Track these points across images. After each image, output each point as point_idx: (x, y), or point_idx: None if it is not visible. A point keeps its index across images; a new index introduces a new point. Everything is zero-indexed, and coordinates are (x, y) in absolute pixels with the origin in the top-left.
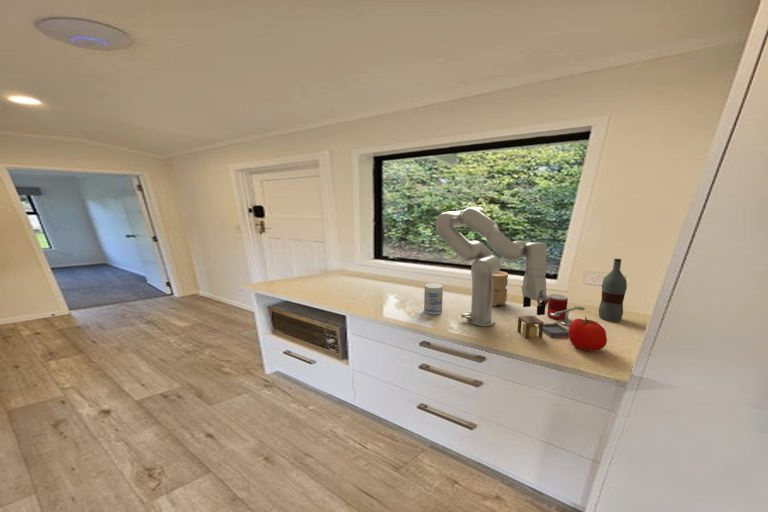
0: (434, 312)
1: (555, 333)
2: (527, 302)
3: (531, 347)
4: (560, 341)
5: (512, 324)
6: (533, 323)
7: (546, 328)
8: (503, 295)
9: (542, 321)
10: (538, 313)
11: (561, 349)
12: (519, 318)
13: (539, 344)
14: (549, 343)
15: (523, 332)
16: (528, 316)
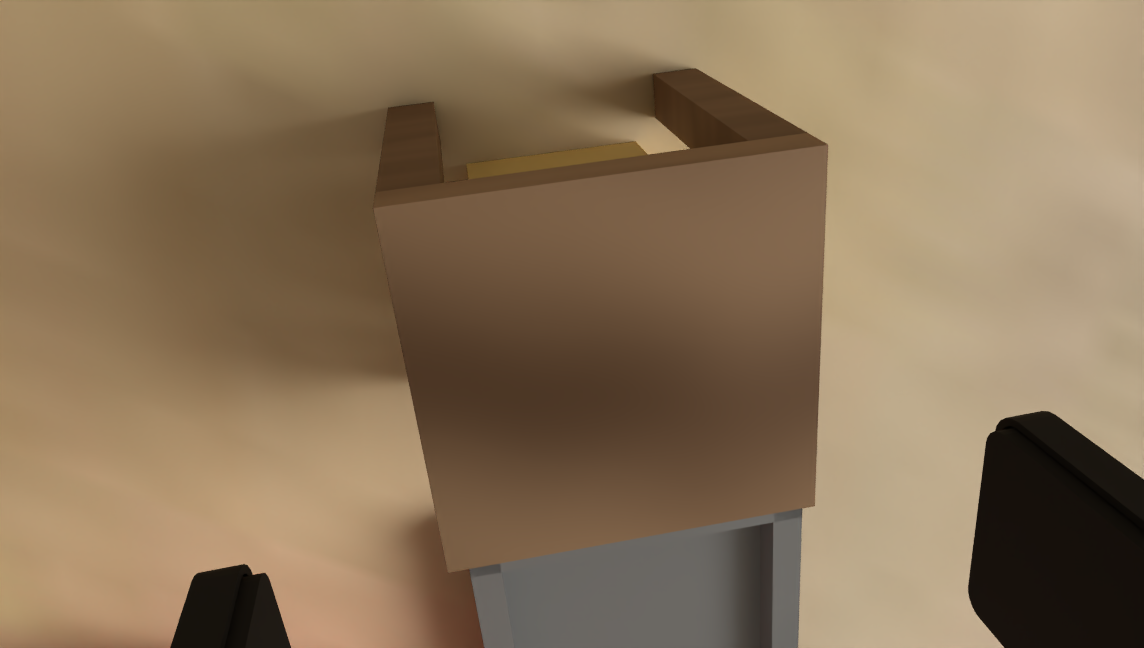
0: None
1: (475, 600)
2: (1082, 620)
3: (25, 46)
4: (340, 572)
5: (985, 104)
6: (405, 350)
7: (635, 547)
8: None
9: (483, 564)
10: (190, 632)
11: (65, 492)
12: (763, 142)
13: (187, 245)
14: (251, 410)
15: (611, 151)
16: (786, 387)
